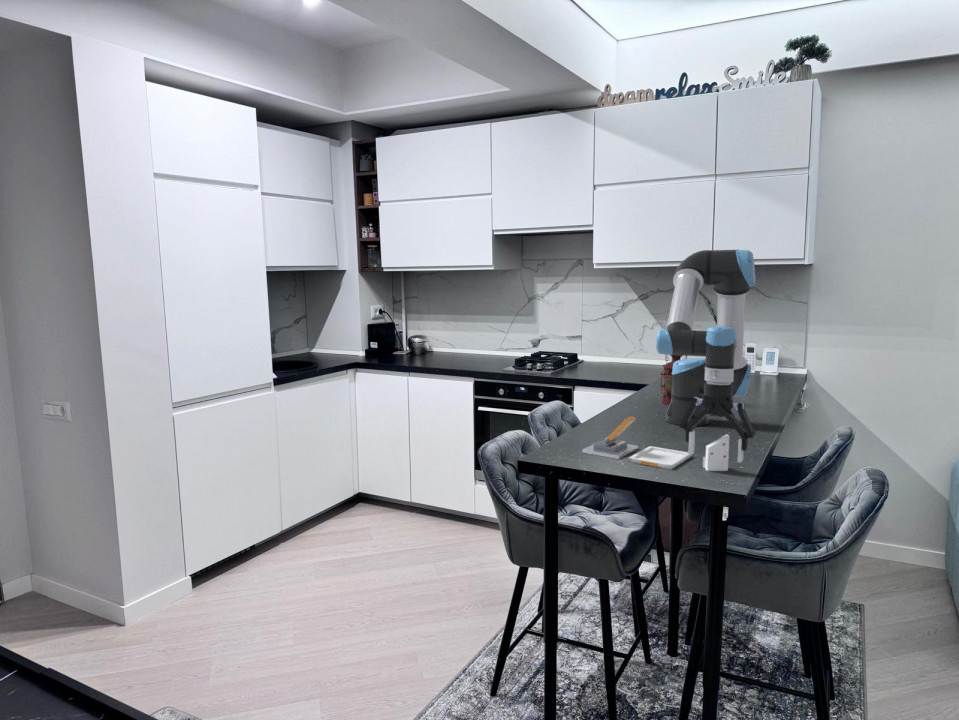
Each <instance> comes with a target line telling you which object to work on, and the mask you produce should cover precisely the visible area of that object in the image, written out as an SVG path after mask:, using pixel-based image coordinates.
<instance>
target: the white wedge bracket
mask: <svg viewBox="0 0 959 720" xmlns="http://www.w3.org/2000/svg"><path fill="white" fill-rule="evenodd" d="M729 451H730V435H729V434H725V435H723V436H721V437H719V438H718V439H716V440H714V441H712V442H711V443H709V444H707V445H705V456H702V468H703V469H704V468H705V469H704V470H705V471H707V472H727V471H729V457H730V456H729V454H730V453H729Z"/></svg>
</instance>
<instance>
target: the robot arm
mask: <svg viewBox="0 0 959 720" xmlns="http://www.w3.org/2000/svg"><path fill="white" fill-rule="evenodd" d="M755 267H756V266H755V258H754V254H753V252H752V251H751V250H748V249H714V250H713V249H711V250H709V249H708V250H707V249H706V250H705V249H704V250H699V251H696V252H693V253H691V254H690V255H689V256H687V257H686V258H684V259H683V260H682V261H681V262H680V264H679V265H678V266H677V268H676V269H675V271H674V273H673V274H674V275H673V278H672V279H673V280H672V282H673V283H672V284H673V286H674V288H673V294H672V299H671V304H670V308H669V309H670V310H669V312H668V313H669V314H668V319H667V324H666V328H664V329H663V328H662V329H659V330H658V331H657V332H656V342H655V347H656V352H657V353H658V354H659V355H665V356H666V355H667V356H670V355H679V356H682V357H683V356H684V357H685V356H687V357H688V356H689V357H691V358H687V359H686V358H685V359H684V358H682V359H680V360H678V361H676V362H674V364H673V370H672V393H671V402H670V405H668V408H667V410H666V413H665V421H666V422H667V423H670V424H673V425H678V426H679V428H680V429H683V430H684V431H685V442H686V443H688V451H687V452H688V454H689V455H691V456H692V455H693V454H694V453H695V441H696V440H695V439H696V430H695V427H697V426H705V425H708V424H709V419H710V418H709V417H710V416H712V417H714V416H717V417H719V418H723V417H725V418H726V419H727V421H728V422H729V423H730V424H731V426H732V427H733V429H734V430H735V432H737V434H738V435H739V438H738V441H737V442H738V443H737V446H738V447H737V460H736V461H737V463H738V464H741V463H742V462H744V452H746V451H747V450H748V447H749V446H748V445H749V439H752V438H754V437H755V436H756V432H755V429H754V427H753V426H752V423H751V420H750V418H749V415H748V413H747V411H746V409H745V408H746V407H745V406H746V405H745V402H744V401H740V402H734V400H733V398H734V397H739V398H741V397H744V396H746V394H747V392H748V389H749V384H750V379H751V372H752V365H751V364H749V363H748V360H747V359H746V357H745V356H744V355H743V354H744V337H745V336H744V334H745V333H744V332H745V331H744V329H745V312H746V311H745V310H746V309H745V307H746V295H747V294H749V292H751V287H754V286H755V285H756V268H755ZM703 286H713V289H712V290H713V292H714V293H715V294H716V295H717V315H716V316H717V318H716V319H717V320H716V321H717V322H716V323H717V324H716V326H709V327H708V328H706V329H707V330H694V322H695V316H696V310H697V303H698V298H699V292H700V290H701V289H702V287H703ZM733 408H735V410H736V411H737V413H738V416H739V417H740V420H741V423H742V424H743V425H742V424H741V423H740V422H739V420H738V419H737V418H736V416H735V415H734V413H733V411H732V409H733ZM709 415H710V416H709Z"/></svg>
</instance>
